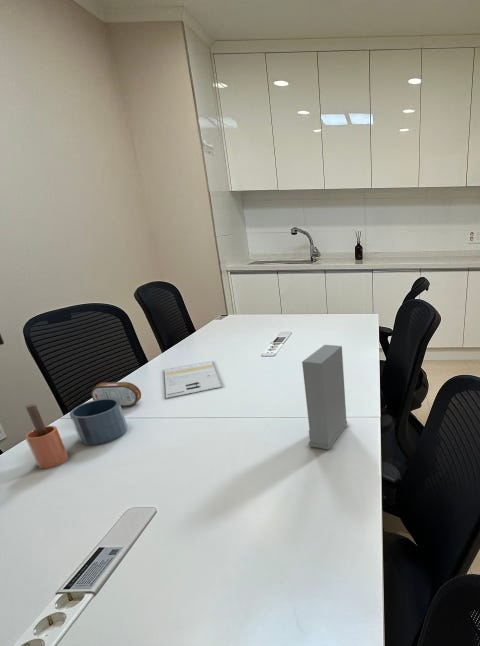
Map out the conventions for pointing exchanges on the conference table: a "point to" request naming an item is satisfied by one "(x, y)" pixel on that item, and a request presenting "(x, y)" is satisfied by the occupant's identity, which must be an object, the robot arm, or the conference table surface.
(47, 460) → the cup
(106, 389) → the tin
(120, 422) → the pot
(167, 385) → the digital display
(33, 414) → the stick
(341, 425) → the cassette tape recorder
